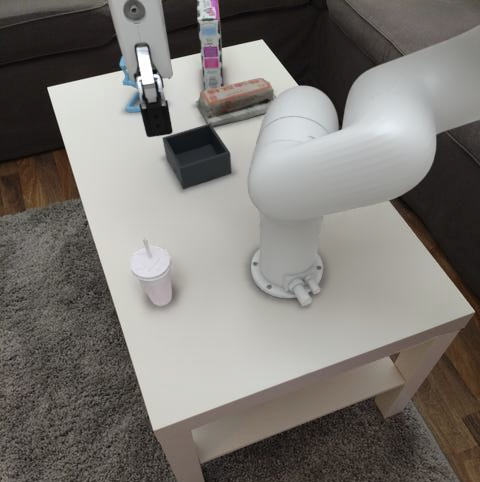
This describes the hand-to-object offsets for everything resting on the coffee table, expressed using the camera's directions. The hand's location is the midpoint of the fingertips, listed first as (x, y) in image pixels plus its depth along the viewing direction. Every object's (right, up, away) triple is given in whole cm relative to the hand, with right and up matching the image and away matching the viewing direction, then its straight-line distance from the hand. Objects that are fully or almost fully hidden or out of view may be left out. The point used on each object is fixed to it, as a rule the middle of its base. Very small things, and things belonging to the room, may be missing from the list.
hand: (155, 110), depth 56 cm
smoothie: (-3, -23, +20) cm, 30 cm away
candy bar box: (+4, +33, +54) cm, 63 cm away
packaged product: (+10, +23, +48) cm, 54 cm away
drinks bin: (+2, +6, +37) cm, 38 cm away
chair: (-11, +25, +50) cm, 57 cm away
